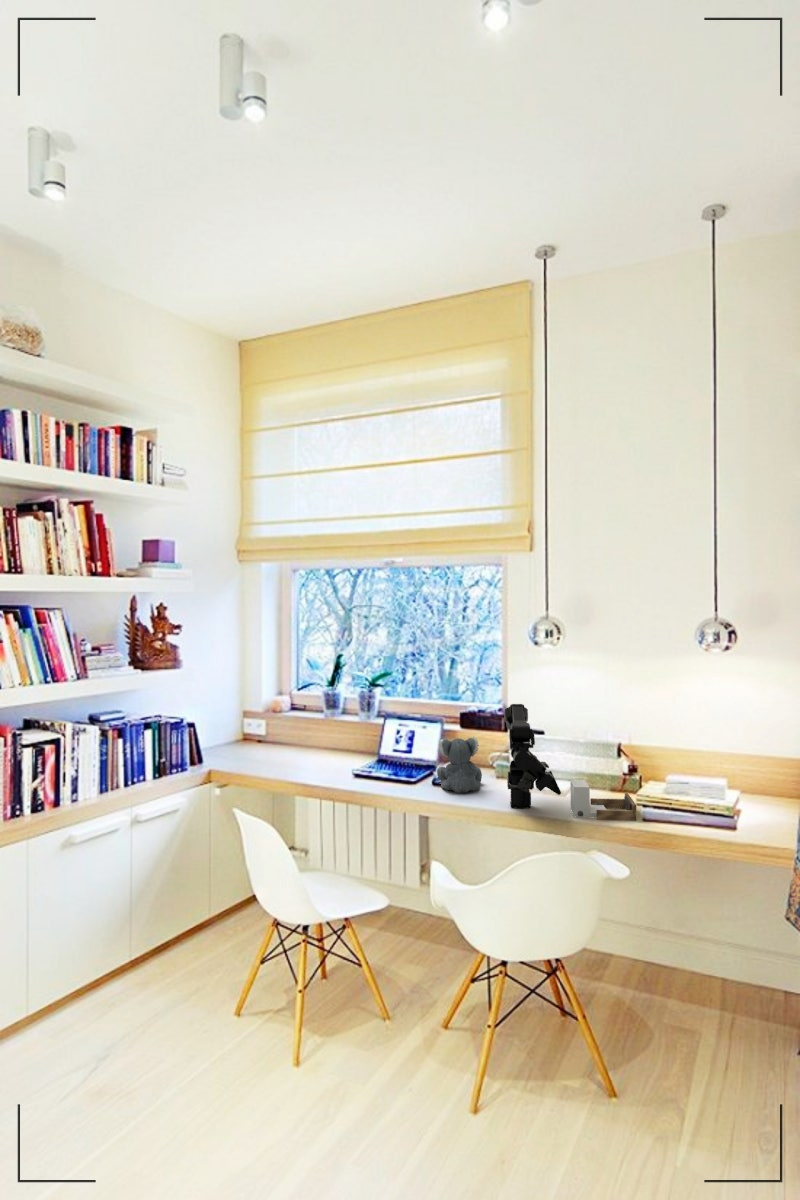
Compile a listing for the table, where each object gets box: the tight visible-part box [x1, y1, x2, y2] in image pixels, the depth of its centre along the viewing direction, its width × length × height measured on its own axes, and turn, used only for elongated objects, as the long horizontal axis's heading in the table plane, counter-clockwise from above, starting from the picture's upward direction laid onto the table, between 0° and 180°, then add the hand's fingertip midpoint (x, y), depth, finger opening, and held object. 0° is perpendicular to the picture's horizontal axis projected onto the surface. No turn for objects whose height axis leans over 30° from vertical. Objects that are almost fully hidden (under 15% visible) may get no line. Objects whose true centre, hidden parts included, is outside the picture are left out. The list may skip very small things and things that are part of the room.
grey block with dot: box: [569, 779, 607, 819], centre depth 253 cm, size 11×10×10 cm
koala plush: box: [436, 736, 483, 794], centre depth 287 cm, size 17×18×20 cm
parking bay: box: [590, 792, 637, 821], centre depth 253 cm, size 12×14×5 cm
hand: (560, 793), depth 254 cm, fingers closed
